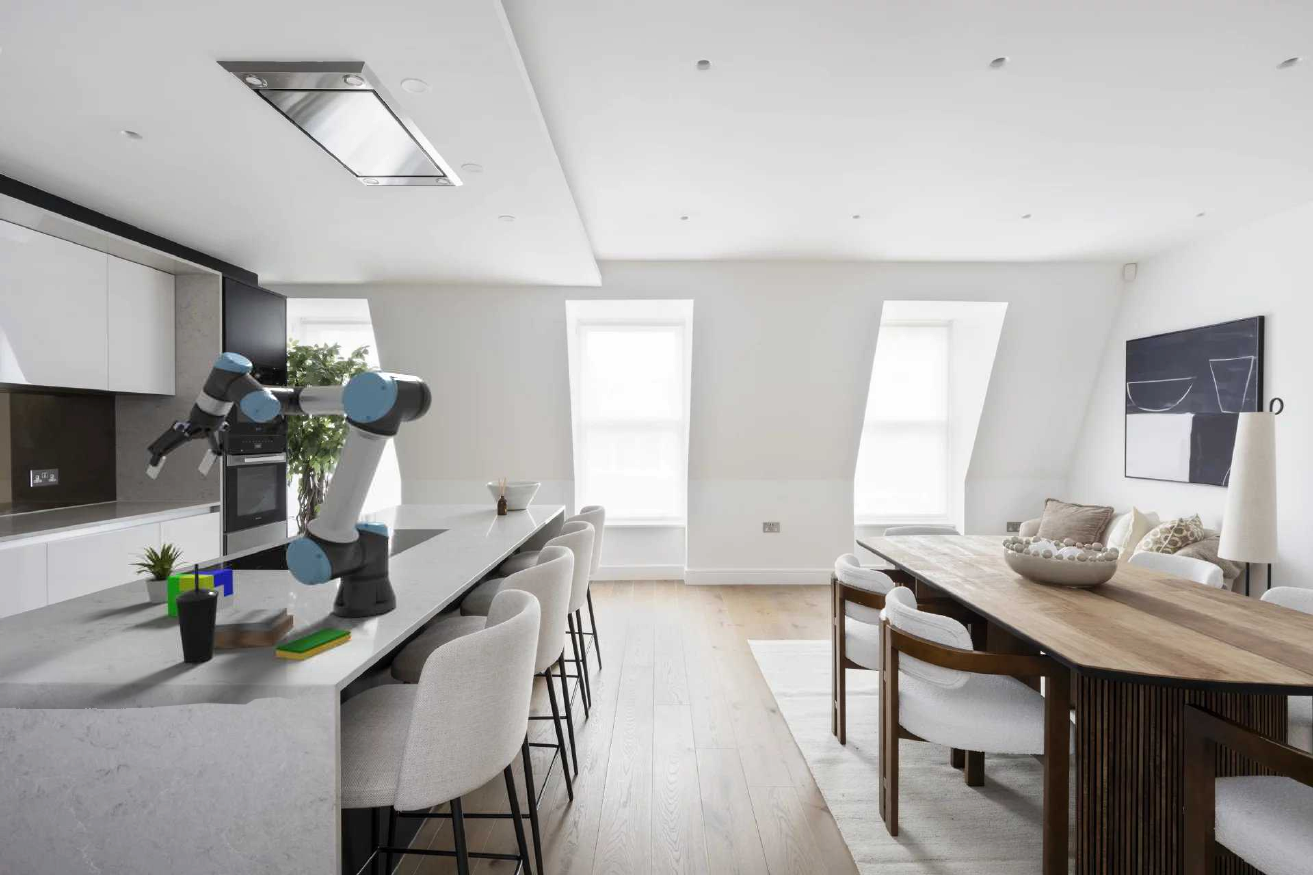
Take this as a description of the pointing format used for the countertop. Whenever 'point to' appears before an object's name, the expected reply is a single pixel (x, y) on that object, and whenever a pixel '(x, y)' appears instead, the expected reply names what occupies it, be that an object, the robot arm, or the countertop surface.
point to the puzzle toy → (202, 586)
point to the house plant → (158, 572)
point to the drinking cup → (197, 621)
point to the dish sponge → (312, 644)
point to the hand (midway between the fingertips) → (177, 473)
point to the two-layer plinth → (252, 628)
